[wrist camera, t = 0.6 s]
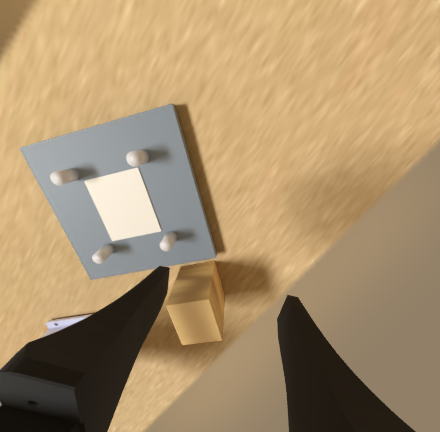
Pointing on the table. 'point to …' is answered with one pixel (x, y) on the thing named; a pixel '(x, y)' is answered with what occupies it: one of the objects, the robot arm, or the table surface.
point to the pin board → (125, 193)
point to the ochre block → (197, 304)
